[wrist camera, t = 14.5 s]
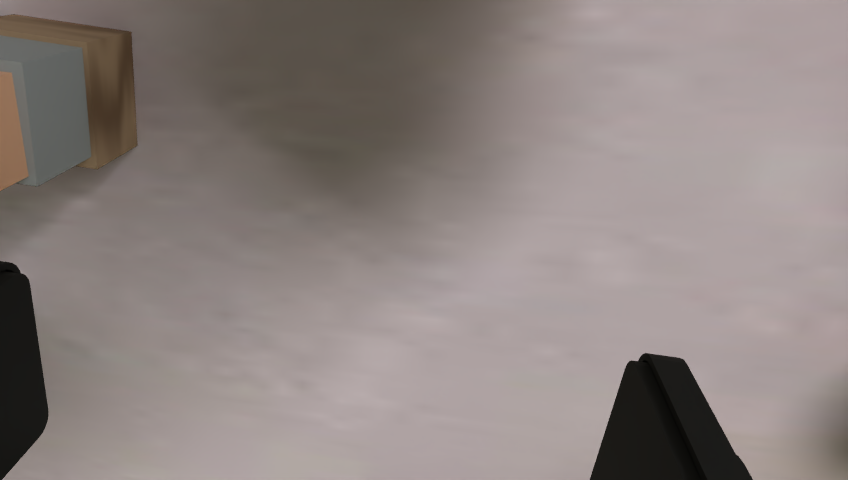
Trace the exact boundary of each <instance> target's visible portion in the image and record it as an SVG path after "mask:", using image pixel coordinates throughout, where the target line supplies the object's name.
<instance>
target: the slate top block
mask: <svg viewBox="0 0 848 480" xmlns="http://www.w3.org/2000/svg"><path fill="white" fill-rule="evenodd" d="M0 71H2V72H11V73H12V77H13V83H14V89H15V95H16V101H17V107H18V114H19V120H20V126H21V132H22V138H23V144H24V150H25V156H26V162H27V168H28V175H29V176H28V177H26V178H24V179H23V180H21V181H19V182H17V184H24V185H30V186H39V185H41V184H43V183H45V182H47V181H48V180H50V179H52V178H54V177H56V176H57V175H59V174H61V173H63V172H65V171H67V170H68V169H70V168H72V167H74V166H76V165H77V164H79V163H81V162H83V161H85V160H87V159H88V158H90V157H91V147H90V135H89V123H88V111H87V99H86V87H85V75H84V63H83V51H82V48H81V47H75V46H68V45H61V44H55V43H48V42H41V41H35V40H28V39H21V38H15V37H8V36H2V35H0Z"/></svg>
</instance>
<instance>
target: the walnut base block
mask: <svg viewBox="0 0 848 480" xmlns="http://www.w3.org/2000/svg"><path fill="white" fill-rule="evenodd" d="M0 35H2V36H8V37H15V38H21V39H28V40H35V41H41V42H48V43H55V44H61V45H68V46H75V47H81V48H82V51H83V63H84V75H85V87H86V99H87V111H88V123H89V135H90V147H91V157H90V158H88V159H87V160H85V161H83V162H81V163H79V164H77V165H76V166H78V167H85V168H92V169H99V168H100V167H102V166H104V165H105V164H107V163H109V162H110V161H112V160H114V159H116V158H117V157H119V156H121V155H122V154H124V153H126V152H127V151H129V150H131V149H132V148H134V147H136V146H137V129H136V110H135V92H134V73H133V54H132V36H131V32H129V31H122V30H116V29H109V28H102V27H95V26H89V25H82V24H75V23H68V22H62V21H55V20H48V19H41V18H35V17H28V16H21V15H15V14H13V15H6V16H0Z"/></svg>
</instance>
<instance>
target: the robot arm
mask: <svg viewBox="0 0 848 480" xmlns="http://www.w3.org/2000/svg"><path fill="white" fill-rule="evenodd" d="M47 420H48V405H47V398H46V391H45V385H44V378H43V371H42V364H41V357H40V350H39V343H38V336H37V330H36V323H35V316H34V309H33V302H32V295H31V288H30V283H29V279H28V278H27V277H26V276H25V275H24V274H21V273H20V270H19V269H18V267H17V266H16V265H14V264H13V263H9V262H2V261H0V480H2V479H3V478H4V477H5V476H6V474H7V473H8V472H9V471H10V470H11V469H12V468H13V466H14V465H15V464H16V463H17V462H18V461H19V460H20V458H21V457H22V456H23V455H24V454H25V453H26V452H27V450H28V449H29V448H30V447H31V446H32V445H33V444H34V442H35V441H36V440H37V439H38V438H39V437H40V435H41V434H42V433H43V431H44V429H45V427H46V424H47ZM590 480H753V479H752V477H751V476H750V474H749V472H748V470H747V468H746V466H745V465H744V463H743V462H742V461H741V459H740V458H739V456H737V455H736V454H735V452H734V450H733V449H732V447H731V445H730V443H729V441H728V439H727V437H726V436H725V434H724V432H723V430H722V428H721V426H720V425H719V423H718V421H717V419H716V417H715V415H714V413H713V412H712V410H711V408H710V406H709V404H708V402H707V400H706V399H705V397H704V395H703V393H702V391H701V389H700V388H699V386H698V384H697V382H696V380H695V378H694V376H693V375H692V373H691V371H690V369H689V367H688V365H687V364H686V362H685V361H684V360H683V359H681V358H676V357H669V356H662V355H655V354H648V353H645V354H643V355H642V356H641V357H640V358H639V361H629V362H628V364H627V366H626V368H625V371H624V374H623V377H622V380H621V383H620V387H619V390H618V393H617V396H616V399H615V402H614V405H613V409H612V412H611V415H610V418H609V421H608V424H607V427H606V431H605V434H604V437H603V440H602V443H601V446H600V449H599V453H598V456H597V459H596V462H595V465H594V468H593V471H592V475H591V478H590Z"/></svg>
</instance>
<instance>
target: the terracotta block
mask: <svg viewBox="0 0 848 480" xmlns="http://www.w3.org/2000/svg"><path fill="white" fill-rule="evenodd" d="M28 176H29V175H28V168H27V162H26V156H25V150H24V144H23V138H22V132H21V126H20V120H19V114H18V107H17V101H16V95H15V89H14V83H13V77H12V73H11V72H2V71H0V191H1V190H3V189H5V188H7V187H9V186H11V185H13V184H15V183H17V182H19V181H21V180H23V179H24V178H26V177H28Z"/></svg>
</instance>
